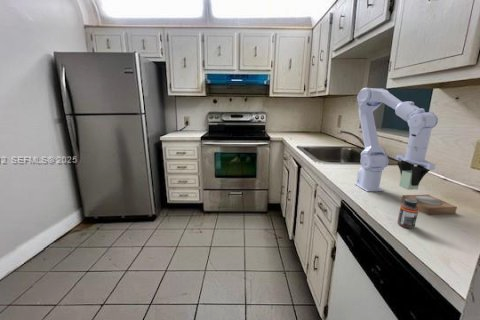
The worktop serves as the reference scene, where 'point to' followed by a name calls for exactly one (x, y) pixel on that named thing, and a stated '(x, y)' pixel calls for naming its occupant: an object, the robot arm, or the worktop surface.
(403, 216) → the supplement bottle
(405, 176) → the sage block
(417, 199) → the walnut base
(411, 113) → the robot arm
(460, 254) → the worktop surface
